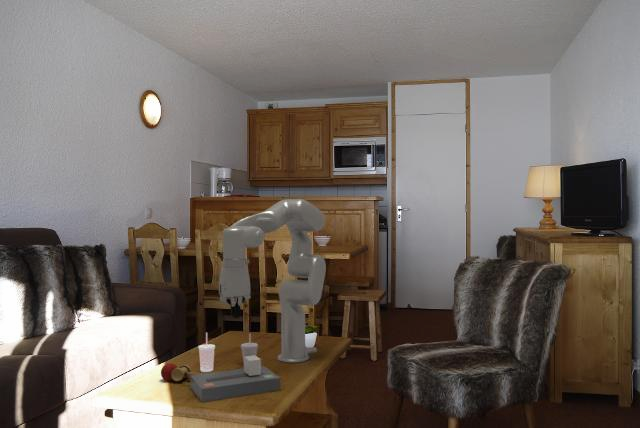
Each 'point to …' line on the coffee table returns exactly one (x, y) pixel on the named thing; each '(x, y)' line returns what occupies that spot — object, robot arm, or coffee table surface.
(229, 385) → the switch panel
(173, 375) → the kendama
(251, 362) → the breaker knob
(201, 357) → the beverage cup
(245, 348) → the smoothie
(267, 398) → the coffee table surface
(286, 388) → the coffee table surface
